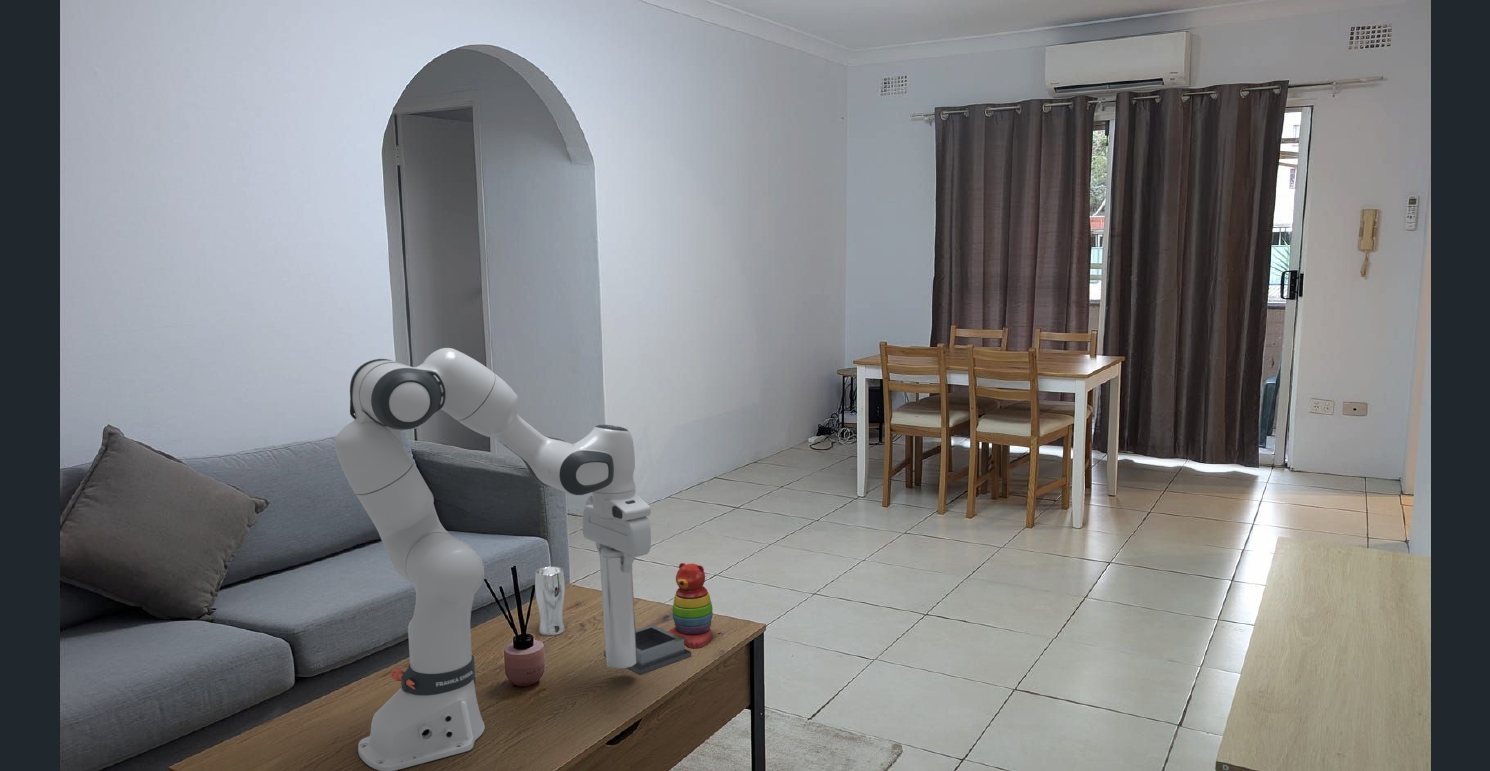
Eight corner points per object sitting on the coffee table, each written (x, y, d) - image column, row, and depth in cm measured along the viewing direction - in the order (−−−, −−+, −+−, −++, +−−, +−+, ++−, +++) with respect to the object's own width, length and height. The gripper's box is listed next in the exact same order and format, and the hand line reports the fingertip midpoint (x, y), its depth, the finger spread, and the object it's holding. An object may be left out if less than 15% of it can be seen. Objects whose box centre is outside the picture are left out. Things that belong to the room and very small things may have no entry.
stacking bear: (660, 640, 227) (658, 566, 224) (687, 626, 235) (685, 555, 232) (697, 650, 220) (695, 574, 218) (723, 635, 229) (721, 562, 226)
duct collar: (640, 674, 208) (639, 656, 207) (603, 655, 218) (603, 638, 218) (691, 656, 217) (690, 639, 217) (654, 638, 227) (653, 622, 227)
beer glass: (535, 627, 236) (533, 568, 234) (564, 624, 238) (562, 564, 236) (538, 638, 229) (535, 576, 227) (568, 634, 231) (565, 573, 229)
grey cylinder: (631, 669, 201) (624, 553, 197) (602, 668, 202) (594, 552, 198) (641, 656, 207) (634, 543, 203) (612, 654, 208) (605, 542, 205)
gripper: (574, 496, 205) (576, 559, 207) (629, 514, 190) (631, 582, 192) (599, 491, 209) (601, 553, 211) (655, 508, 194) (657, 575, 196)
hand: (616, 567), depth 201 cm, fingers closed on grey cylinder, 6 cm apart
